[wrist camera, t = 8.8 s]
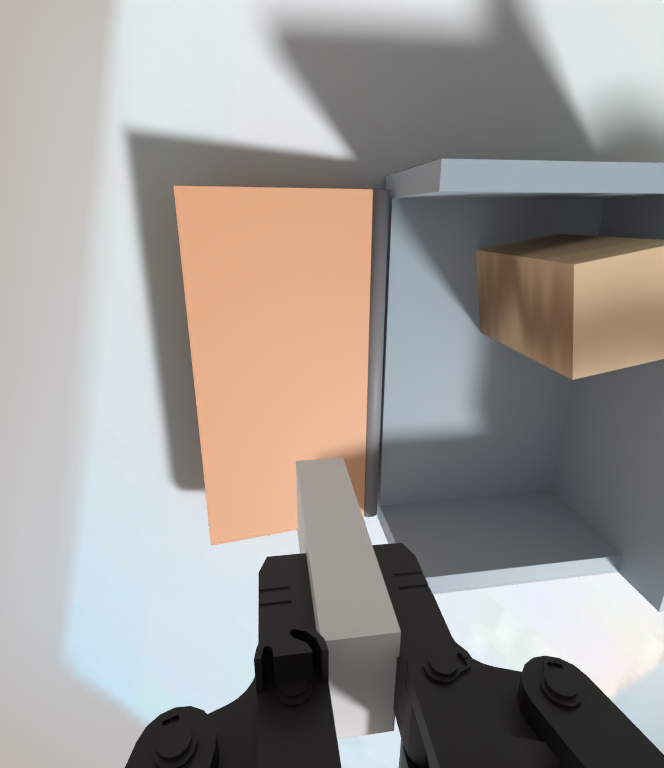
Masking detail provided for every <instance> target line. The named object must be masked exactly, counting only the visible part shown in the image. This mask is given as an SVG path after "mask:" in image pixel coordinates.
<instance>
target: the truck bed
mask: <svg viewBox="0 0 664 768" xmlns="http://www.w3.org/2000/svg"><path fill="white" fill-rule="evenodd" d="M386 189H388V190H389V213H388V239H387V265H386V291H385V317H384V343H383V369H382V395H381V421H380V447H379V473H378V499H377V516H378V519H379V521H380V524H381V526H382V529H383V531H384V534H385V536H386V539H387V541H388V544H393V543H403V544H404V545H405V546H406V547H407V548H408V549H409V550H410V551H411V552H412V553H413V554H414V555H415V556H416V558H417V560H418V562H419V564H420V567H421V569H422V572H423V574H424V576H425V578H426V580H427V582H428V586H429V587H430V589H431V591H432V594H438V593H447V592H455V591H463V590H472V589H480V588H488V587H497V586H505V585H513V584H522V583H530V582H538V581H547V580H555V579H563V578H572V577H580V576H588V575H597V574H605V573H613V572H619V573H620V574H621V575H622V576H623V577H624V578H625V579H626V580H627V581H628V582H629V583H630V584H631V585H632V586H633V587H634V588H635V589H636V590H637V591H638V592H639V593H640V594H641V595H642V596H643V597H644V598H645V599H646V600H647V601H649V602H650V603H651V604H652V605H653V606H654V607H655V608H656V609H657V610H658V611H659V612H660V611H664V359H662V360H657V361H653V362H649V363H644V364H640V365H635V366H631V367H627V368H622V369H618V370H614V371H609V372H605V373H600V374H596V375H592V376H587V377H583V378H578V379H574V380H572V379H570V378H568V377H566V376H564V375H562V374H560V373H558V372H556V371H554V370H552V369H551V368H549V367H547V366H545V365H543V364H541V363H539V362H537V361H535V360H533V359H531V358H529V357H527V356H525V355H523V354H521V353H519V352H517V351H515V350H514V349H512V348H510V347H508V346H506V345H504V344H502V343H500V342H498V341H496V340H494V339H492V338H490V337H488V336H486V335H484V334H482V333H481V331H480V314H479V298H478V281H477V265H476V250H478V249H483V248H488V247H493V246H498V245H503V244H508V243H513V242H518V241H523V240H528V239H533V238H538V237H543V236H548V235H553V234H568V235H586V236H604V237H623V238H641V239H659V240H664V163H650V162H598V161H546V160H494V159H443V158H442V159H438V160H435V161H432V162H429V163H426V164H423V165H420V166H416V167H413V168H410V169H407V170H404V171H401V172H397V173H394V174H391V175H388V176H386Z"/></svg>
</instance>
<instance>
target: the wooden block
mask: <svg viewBox="0 0 664 768" xmlns="http://www.w3.org/2000/svg"><path fill="white" fill-rule="evenodd" d="M476 265H477V281H478V298H479V314H480V331H481V333H482V334H484V335H486V336H488V337H490V338H492V339H494V340H496V341H498V342H500V343H502V344H504V345H506V346H508V347H510V348H512V349H514V350H515V351H517V352H519V353H521V354H523V355H525V356H527V357H529V358H531V359H533V360H535V361H537V362H539V363H541V364H543V365H545V366H547V367H549V368H551V369H552V370H554V371H556V372H558V373H560V374H562V375H564V376H566V377H568V378H570V379H572V380H574V379H578V378H583V377H587V376H592V375H596V374H600V373H605V372H609V371H614V370H618V369H622V368H627V367H631V366H635V365H640V364H644V363H649V362H653V361H657V360H662V359H664V240H659V239H641V238H623V237H604V236H586V235H568V234H553V235H548V236H543V237H538V238H533V239H528V240H523V241H518V242H513V243H508V244H503V245H498V246H493V247H488V248H483V249H478V250H476Z"/></svg>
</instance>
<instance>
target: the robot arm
mask: <svg viewBox="0 0 664 768" xmlns="http://www.w3.org/2000/svg"><path fill="white" fill-rule="evenodd" d="M296 486H297V522H298V539H299V548H300V554H292V555H282V556H272V557H267V558H266V560H265V562H264V564H263V566H262V567H261V569H260V571H259V644H258V646H257V649H256V653H255V657H254V665H255V678H254V680H253V682H252V683H251V685H250V686H249V688H248V689H247V690H246V691H245V692H244V693H243V694H242V695H241V696H240V697H239V698H238V699H236V700H235V701H233V702H231V703H230V704H228V705H226V706H224V707H222V708H220V709H218V710H216V711H214V712H211V713H209V714H206V713H205V711H204V710H201V709H198V708H195V707H192V706H186V707H176V708H173V709H171V710H169V711H167V712H165V713H163V714H160V715H159V716H158V717H157V718H156V719H155V720H153V721H152V722H151V723H150V724H149V725H148V726H147V727H146V728H145V730H144V731H143V733H142V734H141V736H140V737H139V739H138V741H137V742H136V744H135V747H134V749H133V751H132V753H131V755H130V758H129V760H128V762H127V764H126V766H125V768H341V763H340V756H339V749H338V742H337V739H342V738H349V737H355V736H362V735H369V734H375V733H382V732H388V731H394V721H395V716H396V720H397V724H398V728H399V731H400V735H401V747H400V760H399V768H664V755H663V754H662V753H661V752H660V751H659V750H658V748H656V746H655V745H654V744H653V743H652V742H651V741H650V740H649V739H648V738H647V737H646V736H645V735H644V734H643V733H642V732H641V731H640V730H639V729H638V728H637V727H636V726H635V725H634V724H633V723H632V722H631V721H630V720H629V719H628V718H627V717H626V716H625V715H624V713H622V711H621V710H620V709H619V708H618V707H617V706H616V705H615V704H614V703H613V702H612V701H611V700H610V699H609V698H608V697H607V696H606V695H605V694H604V693H603V692H602V691H601V690H600V689H599V688H598V687H597V686H596V685H595V684H594V683H593V682H592V681H591V680H590V678H589V677H588V676H587V675H585V674H584V673H583V672H582V671H580V670H579V669H578V668H577V667H575V666H574V665H572V664H570V663H568V662H566V661H564V660H562V659H560V658H555V657H550V656H541V657H535V658H532V659H531V660H530V661H528V662H527V663H526V664H525V665H524V668H523V671H522V672H520V671H514V670H509V669H503V668H498V667H493V666H489V665H486V664H483V663H481V662H479V661H477V660H474V659H473V658H472V657H471V656H470V654H469V653H468V652H467V651H466V650H465V649H464V648H462V647H461V646H460V645H458V644H457V643H455V641H454V639H453V638H452V636H451V634H450V631H449V629H448V627H447V625H446V623H445V620H444V618H443V616H442V614H441V611H440V609H439V607H438V605H437V602H436V600H435V598H434V596H433V594H432V591H431V589H430V587H429V586H428V582H427V580H426V578H425V576H424V574H423V572H422V569H421V567H420V564H419V562H418V560H417V558H416V556H415V555H414V554H413V553H412V552H411V551H410V550H409V549H408V548H407V547H406V546H405V545H404V544H403V543H393V544H383V545H372V543H371V540H370V537H369V534H368V531H367V528H366V525H365V522H364V519H363V516H362V513H361V510H360V507H359V504H358V501H357V498H356V495H355V492H354V489H353V486H352V483H351V480H350V477H349V474H348V471H347V468H346V465H345V462H344V459H343V458H332V459H318V460H303V461H296Z"/></svg>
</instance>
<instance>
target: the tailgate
mask: <svg viewBox="0 0 664 768" xmlns="http://www.w3.org/2000/svg"><path fill="white" fill-rule="evenodd" d="M173 187H174V197H175V206H176V216H177V225H178V235H179V244H180V254H181V263H182V273H183V282H184V292H185V301H186V311H187V320H188V330H189V339H190V349H191V358H192V368H193V377H194V387H195V397H196V406H197V416H198V425H199V435H200V444H201V454H202V463H203V473H204V482H205V492H206V501H207V511H208V520H209V530H210V539H211V545H216V544H222V543H227V542H233V541H238V540H243V539H249V538H254V537H260V536H265V535H270V534H276V533H281V532H287V531H292V530H298V522H297V486H296V461H303V460H318V459H332V458H343V459H344V462H345V465H346V468H347V471H348V474H349V477H350V480H351V483H352V486H353V489H354V492H355V495H356V498H357V501H358V504H359V507H360V510H361V513H362V516H363V517H364V516H365V517H373V516H375V515H376V514H377V499H378V473H379V447H380V421H381V395H382V369H383V343H384V317H385V291H386V265H387V239H388V213H389V190H388V189H333V188H277V187H222V186H173Z"/></svg>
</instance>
